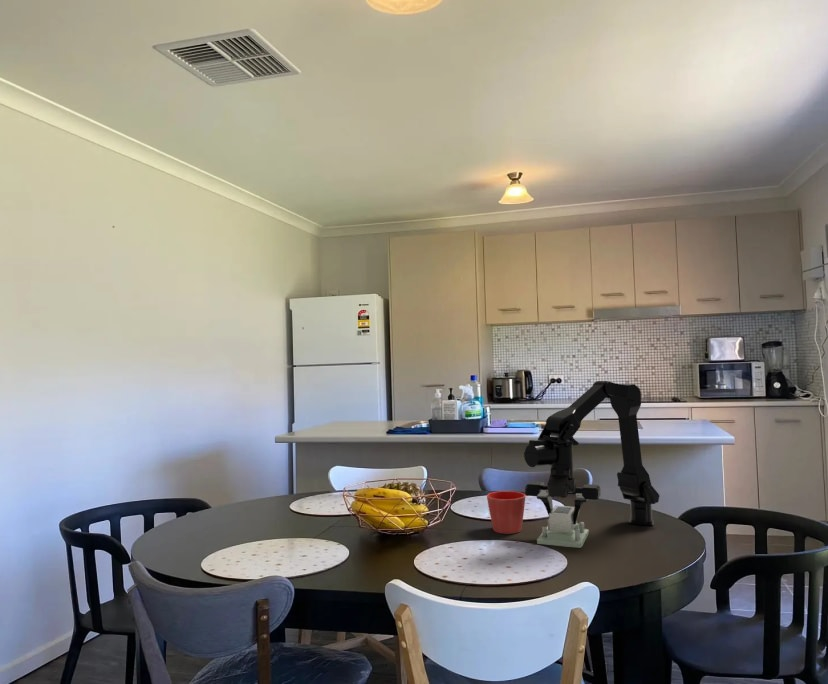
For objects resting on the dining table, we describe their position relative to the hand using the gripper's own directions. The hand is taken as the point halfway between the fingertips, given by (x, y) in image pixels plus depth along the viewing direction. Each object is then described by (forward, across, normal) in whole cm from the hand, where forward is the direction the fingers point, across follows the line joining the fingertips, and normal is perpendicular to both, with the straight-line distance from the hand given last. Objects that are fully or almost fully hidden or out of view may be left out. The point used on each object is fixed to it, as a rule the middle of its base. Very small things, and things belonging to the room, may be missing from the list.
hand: (563, 523), depth 163 cm
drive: (+1, 0, 0) cm, 1 cm away
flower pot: (+4, -16, +3) cm, 17 cm away
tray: (+4, 0, 0) cm, 4 cm away
